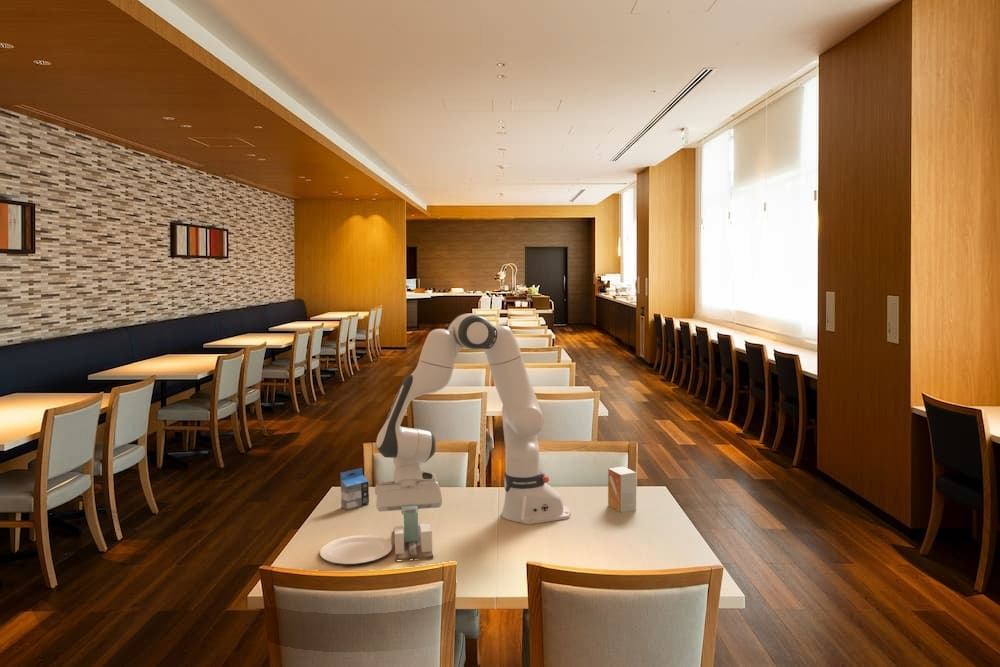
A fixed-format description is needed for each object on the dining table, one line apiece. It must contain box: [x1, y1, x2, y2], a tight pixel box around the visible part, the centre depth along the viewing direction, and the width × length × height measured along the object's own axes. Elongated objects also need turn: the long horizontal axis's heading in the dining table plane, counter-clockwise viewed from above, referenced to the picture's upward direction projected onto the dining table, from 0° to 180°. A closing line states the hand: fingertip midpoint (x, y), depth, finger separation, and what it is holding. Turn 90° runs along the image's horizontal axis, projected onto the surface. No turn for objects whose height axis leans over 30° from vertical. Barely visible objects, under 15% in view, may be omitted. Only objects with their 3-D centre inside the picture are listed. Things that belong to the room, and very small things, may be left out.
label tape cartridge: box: [340, 467, 370, 511], centre depth 258 cm, size 9×4×12 cm, turn 131°
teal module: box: [403, 506, 419, 542], centre depth 225 cm, size 4×6×10 cm, turn 9°
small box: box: [607, 465, 637, 513], centre depth 253 cm, size 8×6×13 cm
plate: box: [319, 534, 393, 566], centre depth 219 cm, size 21×21×2 cm
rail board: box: [393, 525, 434, 561], centre depth 224 cm, size 10×24×1 cm, turn 9°
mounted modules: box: [393, 523, 433, 554], centre depth 218 cm, size 10×6×6 cm, turn 99°
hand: (410, 521), depth 228 cm, fingers closed, pressing on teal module
